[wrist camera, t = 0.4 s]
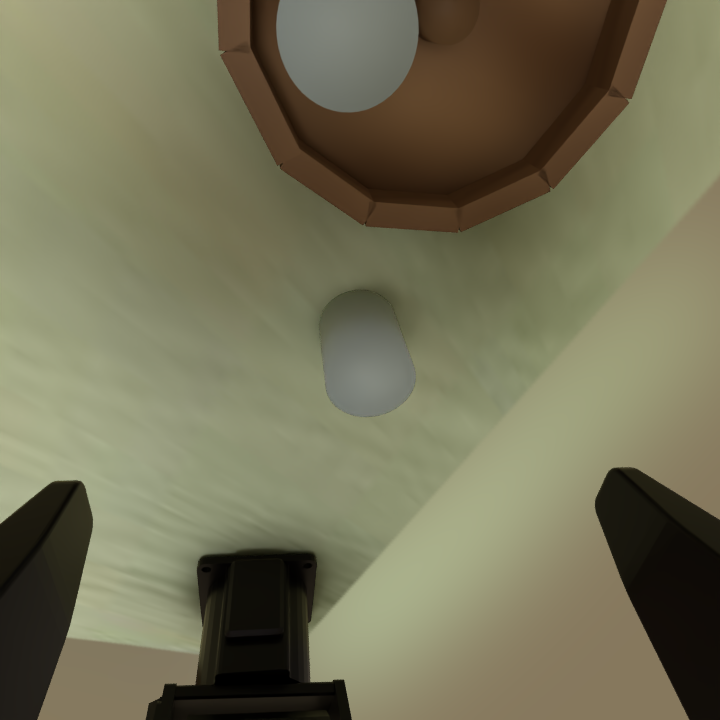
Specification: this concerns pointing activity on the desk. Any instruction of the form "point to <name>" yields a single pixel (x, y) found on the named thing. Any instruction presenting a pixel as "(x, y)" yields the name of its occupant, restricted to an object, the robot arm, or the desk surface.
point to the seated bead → (347, 49)
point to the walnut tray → (451, 106)
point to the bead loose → (364, 355)
